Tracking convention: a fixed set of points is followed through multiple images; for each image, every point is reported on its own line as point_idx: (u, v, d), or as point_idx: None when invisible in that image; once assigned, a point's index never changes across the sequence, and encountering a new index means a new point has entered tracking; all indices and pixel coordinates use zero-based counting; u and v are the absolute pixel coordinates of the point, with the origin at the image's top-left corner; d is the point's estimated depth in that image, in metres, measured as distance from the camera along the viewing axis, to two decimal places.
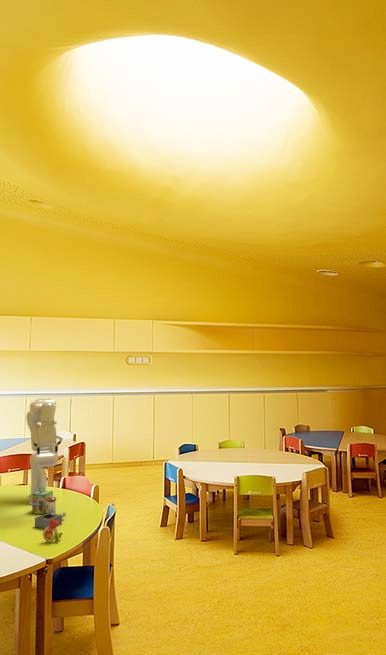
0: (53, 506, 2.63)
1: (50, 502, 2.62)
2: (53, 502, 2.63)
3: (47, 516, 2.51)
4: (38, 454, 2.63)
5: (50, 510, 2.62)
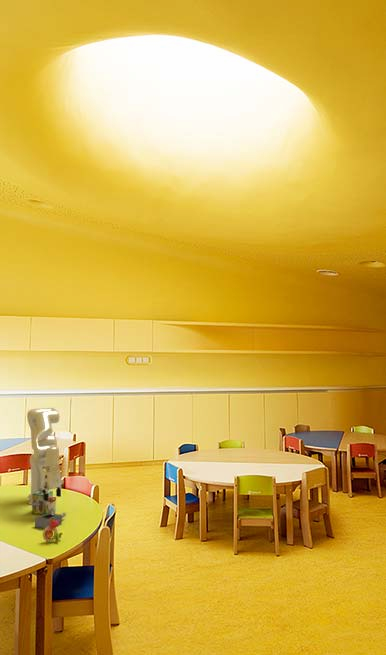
0: (53, 506, 2.63)
1: (50, 502, 2.62)
2: (53, 502, 2.63)
3: (47, 516, 2.51)
4: (56, 495, 2.69)
5: (50, 510, 2.62)
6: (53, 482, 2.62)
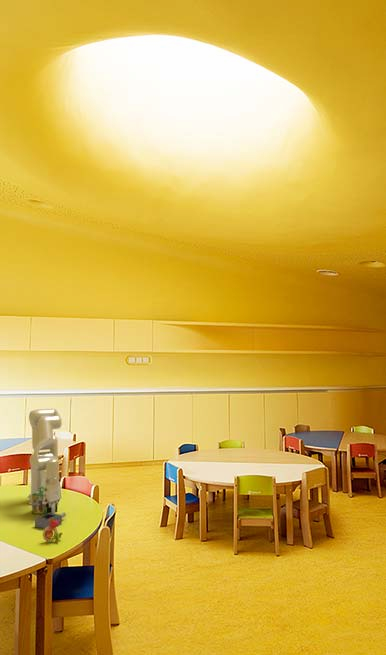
0: (53, 506, 2.63)
1: None
2: (53, 502, 2.63)
3: (47, 516, 2.51)
4: None
5: None
6: (53, 495, 2.62)
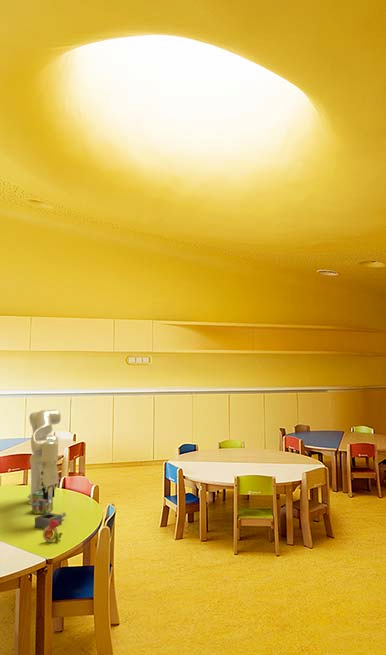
0: (50, 491, 2.48)
1: None
2: (50, 486, 2.48)
3: (47, 516, 2.51)
4: None
5: None
6: (50, 479, 2.47)
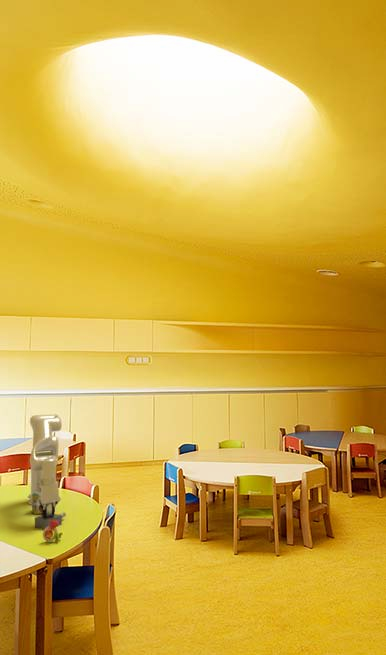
0: (48, 508, 2.47)
1: None
2: (48, 504, 2.47)
3: None
4: None
5: None
6: (47, 496, 2.46)
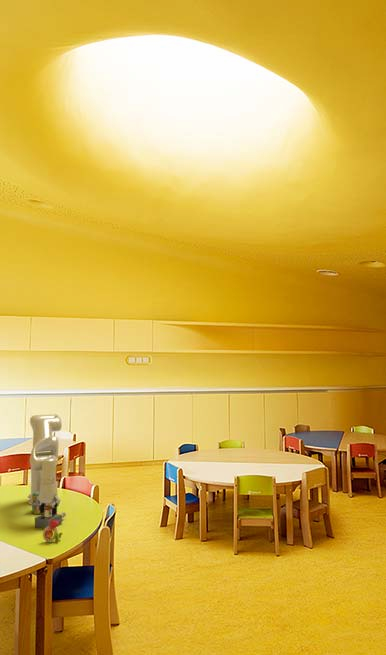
0: (45, 514, 2.47)
1: None
2: (45, 510, 2.48)
3: None
4: (56, 513, 2.48)
5: None
6: (42, 495, 2.48)
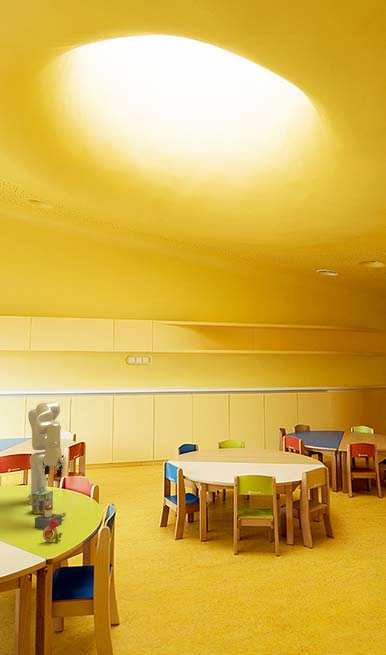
0: (45, 514, 2.47)
1: None
2: (45, 510, 2.48)
3: None
4: (61, 475, 2.57)
5: None
6: (47, 458, 2.57)
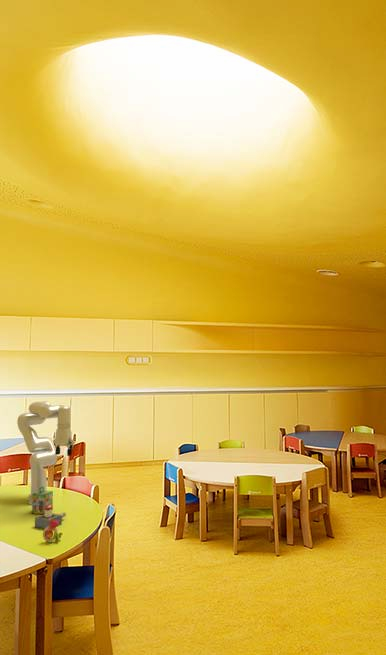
0: (45, 514, 2.47)
1: None
2: (45, 510, 2.48)
3: None
4: (71, 454, 2.76)
5: None
6: (58, 439, 2.76)
